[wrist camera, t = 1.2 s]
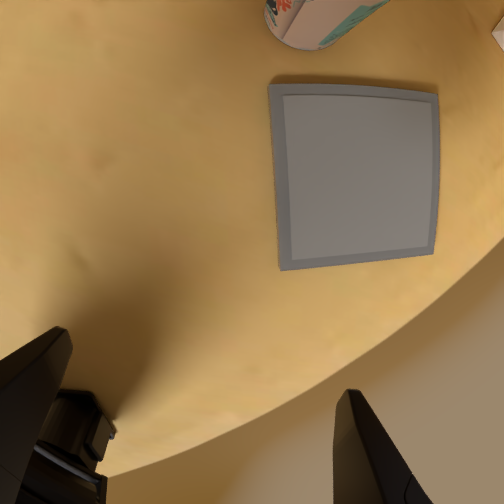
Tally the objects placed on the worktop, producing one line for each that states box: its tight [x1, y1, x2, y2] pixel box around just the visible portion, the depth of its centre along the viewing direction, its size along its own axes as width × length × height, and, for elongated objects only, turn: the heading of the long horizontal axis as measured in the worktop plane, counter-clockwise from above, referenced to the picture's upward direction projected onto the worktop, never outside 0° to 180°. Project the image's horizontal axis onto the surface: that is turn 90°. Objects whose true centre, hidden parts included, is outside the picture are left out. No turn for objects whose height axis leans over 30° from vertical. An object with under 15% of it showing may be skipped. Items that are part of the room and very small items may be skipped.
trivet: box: [267, 84, 440, 271], centre depth 18 cm, size 11×11×1 cm
